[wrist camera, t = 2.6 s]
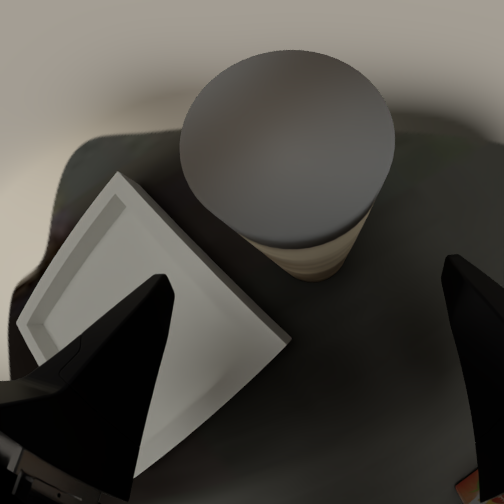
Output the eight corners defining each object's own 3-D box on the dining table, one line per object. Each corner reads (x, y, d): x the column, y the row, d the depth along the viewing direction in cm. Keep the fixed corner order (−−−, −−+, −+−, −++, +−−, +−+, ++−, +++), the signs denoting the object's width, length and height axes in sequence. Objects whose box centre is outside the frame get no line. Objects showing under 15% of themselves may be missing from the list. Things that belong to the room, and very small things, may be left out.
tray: (292, 338, 19) (286, 344, 16) (146, 467, 20) (127, 482, 17) (139, 184, 23) (117, 171, 21) (39, 322, 24) (16, 322, 21)
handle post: (361, 244, 19) (433, 122, 5) (314, 296, 19) (291, 288, 5) (309, 199, 20) (274, 27, 6) (263, 249, 21) (143, 149, 7)
